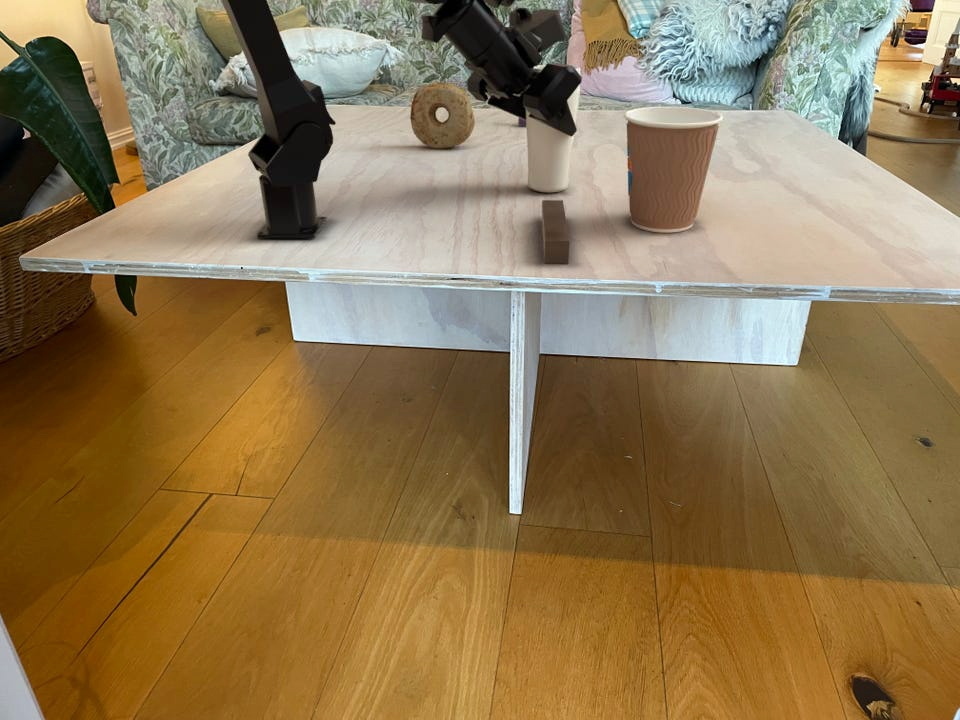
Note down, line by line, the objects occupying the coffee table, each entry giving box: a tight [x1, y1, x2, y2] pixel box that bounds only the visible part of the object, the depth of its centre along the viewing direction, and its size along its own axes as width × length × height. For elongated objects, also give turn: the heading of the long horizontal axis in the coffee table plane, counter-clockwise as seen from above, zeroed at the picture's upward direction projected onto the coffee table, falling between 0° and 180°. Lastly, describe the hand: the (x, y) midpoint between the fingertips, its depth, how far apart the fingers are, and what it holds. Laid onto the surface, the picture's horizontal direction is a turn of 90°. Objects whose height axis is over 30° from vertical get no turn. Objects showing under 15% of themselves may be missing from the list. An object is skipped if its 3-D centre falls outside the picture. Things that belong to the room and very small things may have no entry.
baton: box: [541, 199, 570, 265], centre depth 79 cm, size 14×2×2 cm, turn 177°
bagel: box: [409, 81, 476, 149], centre depth 118 cm, size 10×4×10 cm, turn 77°
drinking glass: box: [525, 64, 582, 193], centre depth 94 cm, size 7×7×15 cm
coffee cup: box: [623, 106, 724, 234], centre depth 82 cm, size 10×10×12 cm
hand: (559, 128), depth 95 cm, fingers closed on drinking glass, 6 cm apart
